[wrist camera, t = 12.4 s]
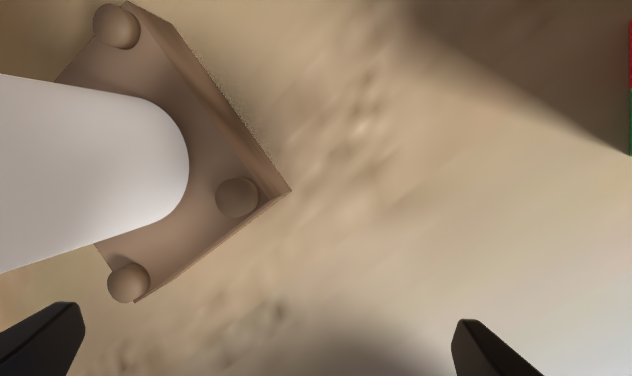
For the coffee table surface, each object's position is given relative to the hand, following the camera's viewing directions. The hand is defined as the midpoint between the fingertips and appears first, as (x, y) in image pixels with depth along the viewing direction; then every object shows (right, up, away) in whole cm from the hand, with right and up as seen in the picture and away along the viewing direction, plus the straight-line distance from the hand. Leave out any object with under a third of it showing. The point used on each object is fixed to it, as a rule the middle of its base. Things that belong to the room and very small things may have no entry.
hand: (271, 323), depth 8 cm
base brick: (-8, +5, +13) cm, 16 cm away
